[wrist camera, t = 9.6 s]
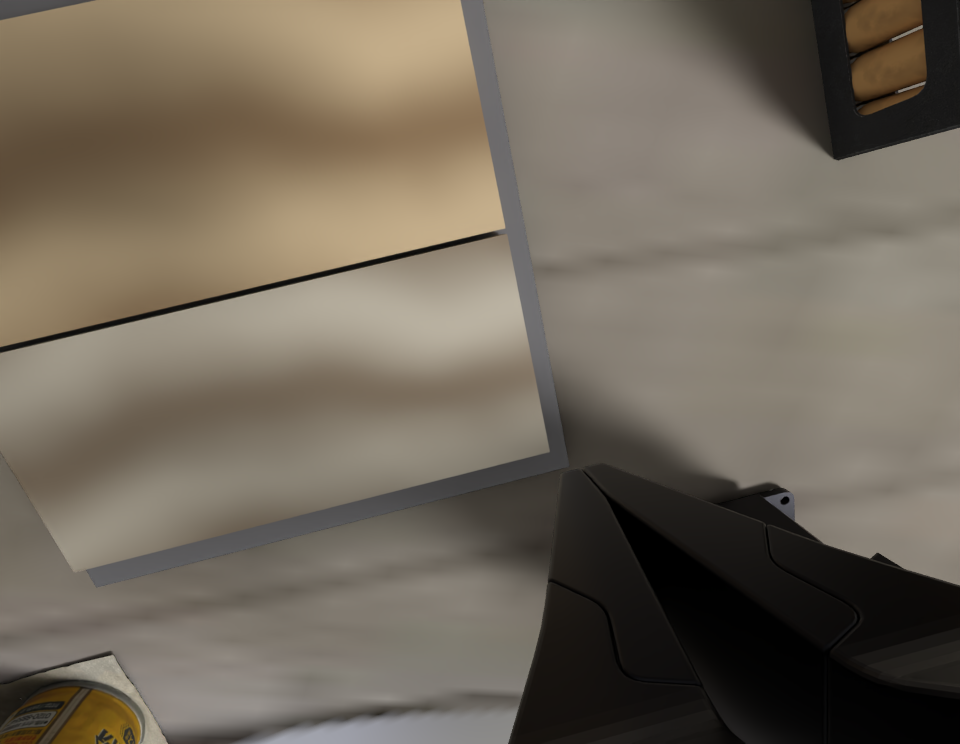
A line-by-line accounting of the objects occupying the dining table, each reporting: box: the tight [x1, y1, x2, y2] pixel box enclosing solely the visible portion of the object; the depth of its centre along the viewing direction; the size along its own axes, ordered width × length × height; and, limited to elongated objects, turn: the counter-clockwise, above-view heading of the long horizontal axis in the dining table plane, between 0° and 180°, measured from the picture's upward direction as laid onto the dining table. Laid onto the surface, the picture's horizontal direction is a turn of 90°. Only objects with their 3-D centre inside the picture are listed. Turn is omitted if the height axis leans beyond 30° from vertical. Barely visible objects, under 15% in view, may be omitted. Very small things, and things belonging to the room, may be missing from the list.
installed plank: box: [0, 0, 505, 347], centre depth 15 cm, size 9×20×2 cm, turn 103°
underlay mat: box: [0, 0, 569, 587], centre depth 18 cm, size 23×22×1 cm
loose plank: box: [0, 234, 550, 573], centre depth 18 cm, size 9×20×2 cm, turn 103°
